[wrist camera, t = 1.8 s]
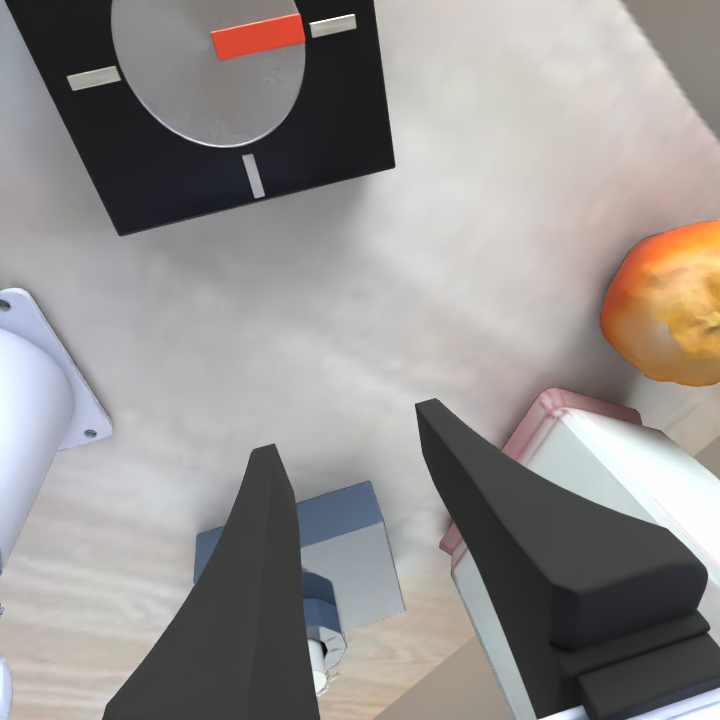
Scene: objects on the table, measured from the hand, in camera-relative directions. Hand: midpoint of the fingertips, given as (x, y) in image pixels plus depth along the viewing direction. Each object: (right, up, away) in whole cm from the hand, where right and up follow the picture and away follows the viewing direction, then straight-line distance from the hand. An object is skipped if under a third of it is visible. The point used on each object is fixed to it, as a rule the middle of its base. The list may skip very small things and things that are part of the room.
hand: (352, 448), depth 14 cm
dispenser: (-3, -11, +18) cm, 21 cm away
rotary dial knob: (-4, +12, 0) cm, 12 cm away
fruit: (+16, +7, +13) cm, 22 cm away
